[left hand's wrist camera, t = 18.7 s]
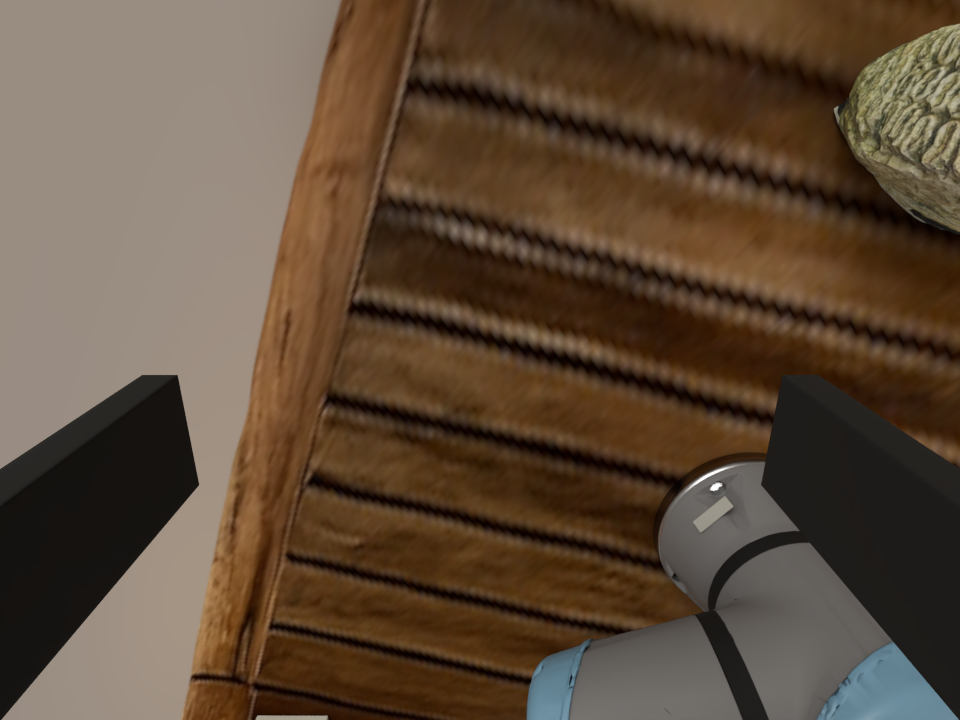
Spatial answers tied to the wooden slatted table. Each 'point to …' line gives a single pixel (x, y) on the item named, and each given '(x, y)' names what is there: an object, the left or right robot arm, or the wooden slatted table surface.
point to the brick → (292, 718)
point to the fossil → (911, 125)
